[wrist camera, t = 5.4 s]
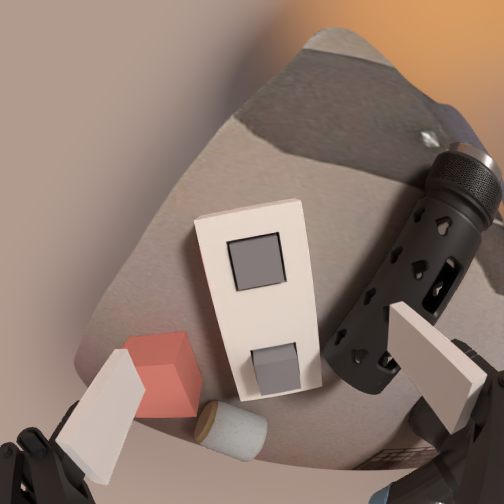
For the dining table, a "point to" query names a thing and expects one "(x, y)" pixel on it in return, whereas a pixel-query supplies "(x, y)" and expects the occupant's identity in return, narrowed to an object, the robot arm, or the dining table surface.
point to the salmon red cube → (166, 375)
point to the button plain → (277, 369)
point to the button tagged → (256, 261)
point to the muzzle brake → (420, 264)
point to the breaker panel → (262, 292)
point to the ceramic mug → (231, 430)
